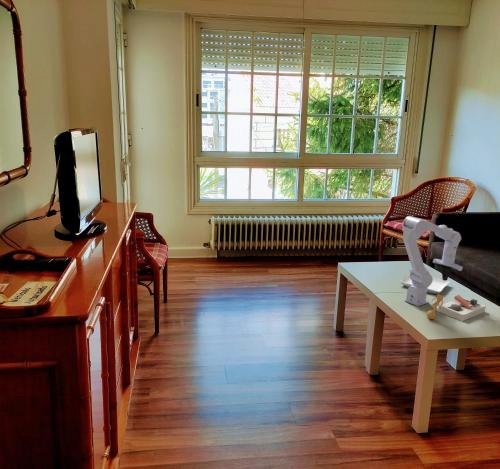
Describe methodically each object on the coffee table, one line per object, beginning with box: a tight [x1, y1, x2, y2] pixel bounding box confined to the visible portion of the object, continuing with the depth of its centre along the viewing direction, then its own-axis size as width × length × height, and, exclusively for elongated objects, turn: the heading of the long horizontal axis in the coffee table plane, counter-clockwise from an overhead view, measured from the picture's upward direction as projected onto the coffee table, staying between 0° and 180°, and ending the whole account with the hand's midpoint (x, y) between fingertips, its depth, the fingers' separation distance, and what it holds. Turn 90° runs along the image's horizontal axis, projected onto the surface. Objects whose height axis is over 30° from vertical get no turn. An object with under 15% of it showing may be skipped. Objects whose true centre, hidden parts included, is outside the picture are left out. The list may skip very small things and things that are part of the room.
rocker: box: [453, 294, 473, 309], centre depth 213 cm, size 3×8×1 cm, turn 36°
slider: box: [470, 298, 478, 305], centre depth 215 cm, size 2×2×2 cm
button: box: [451, 304, 461, 312], centre depth 210 cm, size 4×4×3 cm
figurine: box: [426, 293, 444, 320], centre depth 203 cm, size 8×6×12 cm
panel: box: [437, 297, 487, 322], centre depth 214 cm, size 20×12×4 cm, turn 126°
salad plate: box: [399, 273, 451, 295], centre depth 246 cm, size 21×21×3 cm
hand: (444, 280), depth 227 cm, fingers closed
